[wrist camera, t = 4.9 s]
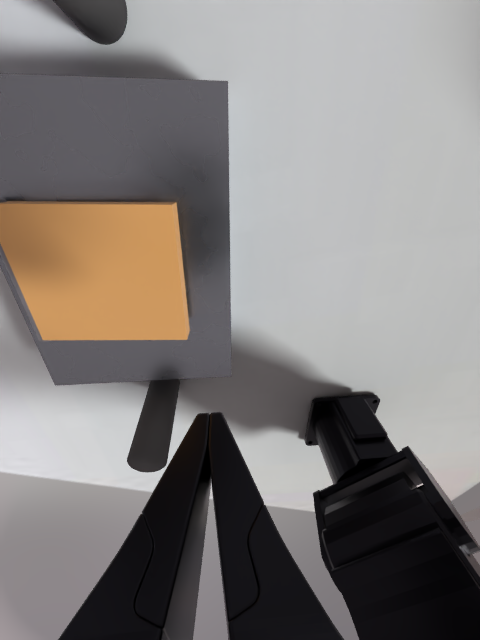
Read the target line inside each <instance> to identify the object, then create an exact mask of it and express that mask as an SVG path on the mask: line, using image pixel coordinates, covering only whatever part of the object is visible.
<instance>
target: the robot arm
mask: <svg viewBox="0 0 480 640" xmlns="http://www.w3.org/2000/svg"><path fill="white" fill-rule="evenodd" d="M379 402H380V399H379V398H378V396H377V395H362V396H345V397H328V398H316V399H314V400H313V401H312V405H311V410H310V415H309V420H308V425H307V430H306V435H305V443H306V445H308V446H311V445H319V447H320V450H321V452H322V455H323V458H324V460H325V463H326V466H327V468H328V471H329V474H330V476H331V479H332V481H333V485H331V486H329V487H327V488H325V489H323V490H321V491H319V490H318V491H316V492H314V493H313V497H314V506H315V513H316V520H317V527H318V534H319V540H320V548H321V555H322V559H323V561H324V563H325V566H326V568H327V570H328V571H329V573H330V576H331V578H332V580H333V581H334V583H335V585H336V586H337V588H338V590H339V591H340V592H341V593H342V595H343V598H344V600H345V602H346V604H347V607H348V609H349V612H350V614H351V617H352V620H353V623H354V625H355V628H356V631H357V634H358V637H359V640H480V565H479V563H478V562H477V560H476V559H475V558H474V556H473V554H474V553H477V552H480V546H479V545H478V543H477V541H476V540H475V539H474V537H473V535H472V534H471V532H470V531H469V529H468V527H467V526H466V525H465V523H464V521H463V520H462V518H461V516H460V515H459V513H458V512H457V510H456V509H455V507H454V506H453V504H452V502H451V501H450V499H449V498H448V496H447V495H446V494H445V492H444V491H443V490H442V488H441V487H440V485H439V484H438V483H437V481H436V480H435V479H434V477H433V476H432V474H431V473H430V472H429V470H428V469H427V468H426V467H425V466H424V464H423V463H422V462H421V461H420V460H419V458H418V457H417V456H416V455H415V454H414V452H413V451H412V450H411V449H410V448H409V447H408V446H407V447H405V448H403V449H402V451H400V452H397V450H396V449H395V447H394V446H393V444H392V442H391V441H390V439H389V438H388V436H387V432H386V431H385V429H384V428H383V426H382V425H381V423H380V422H379V420H378V419H377V417H376V415H375V413H376V410H377V408H378V405H379ZM211 482H212V492H213V501H214V510H215V519H216V528H217V538H218V547H219V557H220V566H221V575H222V584H223V593H224V603H225V612H226V621H227V630H228V640H344V639H343V638H342V636H341V635H340V633H339V632H338V630H337V629H336V627H335V626H334V624H333V623H332V621H331V620H330V618H329V616H328V615H327V613H326V612H325V610H324V608H323V607H322V605H321V603H320V602H319V600H318V599H317V597H316V595H315V594H314V592H313V590H312V589H311V587H310V585H309V584H308V582H307V581H306V579H305V577H304V576H303V574H302V572H301V571H300V569H299V567H298V566H297V564H296V562H295V561H294V559H293V558H292V556H291V554H290V552H289V550H288V549H287V547H286V545H285V543H284V542H283V540H282V538H281V536H280V534H279V532H278V530H277V528H276V526H275V524H274V522H273V520H272V518H271V516H270V514H269V512H268V510H267V508H266V506H265V505H264V502H263V499H262V497H261V495H260V493H259V491H258V489H257V486H256V484H255V482H254V480H253V478H252V476H251V474H250V471H249V469H248V467H247V465H246V463H245V461H244V459H243V456H242V454H241V452H240V450H239V448H238V446H237V444H236V441H235V439H234V437H233V435H232V433H231V431H230V428H229V426H228V424H227V422H226V420H225V418H224V416H223V414H222V413H221V412H217V413H211V414H209V413H200V414H198V415H197V416H196V418H195V419H194V421H193V423H192V425H191V426H190V428H189V430H188V432H187V433H186V435H185V437H184V439H183V441H182V442H181V444H180V446H179V448H178V449H177V451H176V453H175V455H174V456H173V458H172V460H171V462H170V463H169V465H168V467H167V469H166V470H165V472H164V474H163V476H162V477H161V479H160V481H159V483H158V484H157V486H156V488H155V490H154V491H153V493H152V495H151V497H150V499H149V500H148V502H147V504H146V506H145V507H144V509H143V511H142V514H141V515H140V516H139V518H138V519H137V521H136V523H135V525H134V526H133V528H132V530H131V531H130V533H129V535H128V536H127V538H126V540H125V541H124V543H123V545H122V546H121V548H120V550H119V551H118V553H117V554H116V556H115V558H114V559H113V560H112V562H111V564H110V565H109V567H108V568H107V569H106V571H105V572H104V574H103V575H102V577H101V578H100V580H99V582H98V583H97V584H96V586H95V587H94V588H93V590H92V591H91V593H90V594H89V596H88V597H87V599H86V600H85V601H84V603H83V604H82V606H81V607H80V609H79V610H78V612H77V613H76V615H75V616H74V618H73V619H72V621H71V622H70V623H69V625H68V626H67V628H66V629H65V630H64V632H63V633H62V635H61V636H60V638H59V639H58V640H193V633H194V625H195V616H196V608H197V599H198V591H199V582H200V574H201V565H202V556H203V548H204V539H205V530H206V522H207V514H208V505H209V496H210V487H211ZM421 483H423V484H424V485H422V486H420V487H416V486H417V485H419V484H421Z"/></svg>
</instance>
